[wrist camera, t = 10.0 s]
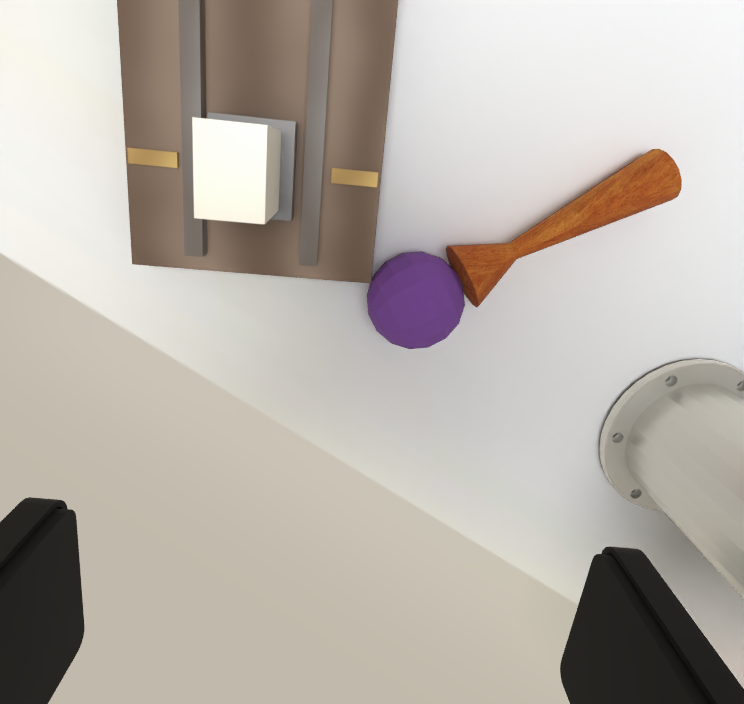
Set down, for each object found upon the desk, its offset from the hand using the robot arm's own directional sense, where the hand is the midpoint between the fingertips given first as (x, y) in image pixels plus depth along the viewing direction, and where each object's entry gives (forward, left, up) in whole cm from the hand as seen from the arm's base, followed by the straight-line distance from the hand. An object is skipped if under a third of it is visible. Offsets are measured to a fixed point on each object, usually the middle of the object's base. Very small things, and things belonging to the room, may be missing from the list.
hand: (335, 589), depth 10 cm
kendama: (-11, -3, -28) cm, 30 cm away
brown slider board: (+5, -11, -27) cm, 30 cm away
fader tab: (+5, -6, -24) cm, 25 cm away
